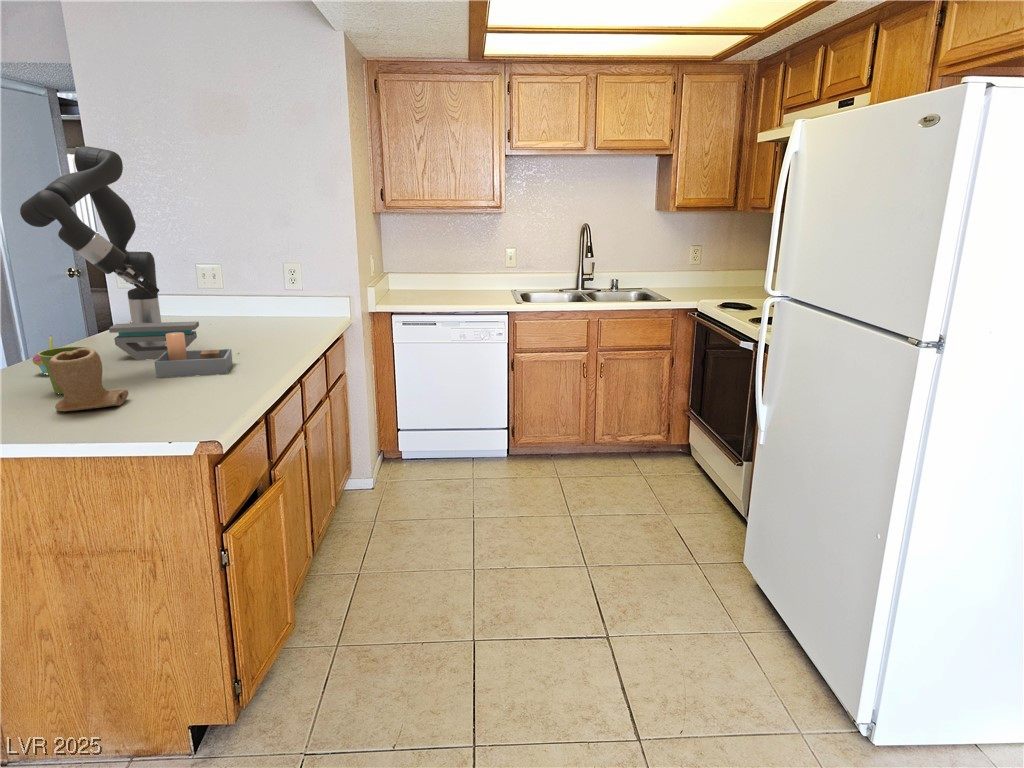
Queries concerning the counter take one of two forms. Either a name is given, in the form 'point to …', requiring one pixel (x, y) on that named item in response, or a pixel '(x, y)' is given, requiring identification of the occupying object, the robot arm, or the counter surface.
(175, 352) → the peach dome-topped cylinder
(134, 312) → the robot arm
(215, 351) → the cube
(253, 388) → the counter surface
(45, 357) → the plant pot
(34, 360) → the cupcake
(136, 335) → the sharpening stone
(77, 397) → the tan hollow clay piece
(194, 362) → the tote
